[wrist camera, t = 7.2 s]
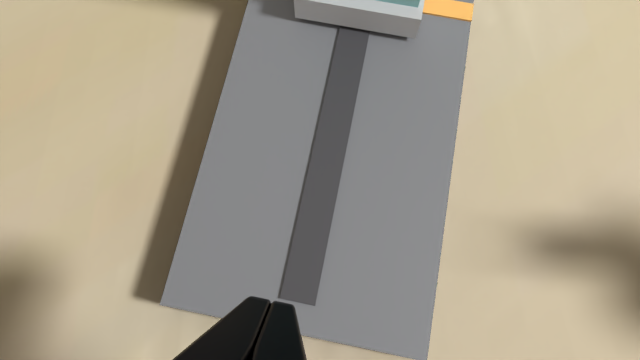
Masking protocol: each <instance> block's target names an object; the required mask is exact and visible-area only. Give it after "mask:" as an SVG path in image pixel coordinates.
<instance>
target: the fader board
mask: <svg viewBox="0 0 640 360" xmlns="http://www.w3.org/2000/svg"><path fill="white" fill-rule="evenodd" d="M473 1H474V0H425V1H424V7H423V13H422V19H421V23H420V26H419V29H418V32H417V35H416V38H409V37H403V36H397V35H392V34H386V33H380V32H375V31H369V30H363V29H358V28H352V27H346V26H340V25H335V24H329V23H323V22H318V21H312V20H306V19H301V18H295V9H294V0H248V4H247V7H246V11H245V14H244V17H243V21H242V24H241V28H240V31H239V35H238V38H237V41H236V45H235V48H234V52H233V55H232V59H231V62H230V65H229V69H228V72H227V76H226V79H225V83H224V86H223V89H222V93H221V96H220V100H219V103H218V107H217V110H216V114H215V117H214V120H213V124H212V127H211V131H210V134H209V138H208V141H207V144H206V148H205V151H204V155H203V158H202V162H201V165H200V168H199V172H198V175H197V179H196V182H195V186H194V189H193V192H192V196H191V199H190V203H189V206H188V210H187V213H186V216H185V220H184V223H183V227H182V230H181V234H180V237H179V240H178V244H177V247H176V251H175V254H174V258H173V261H172V264H171V268H170V271H169V275H168V278H167V282H166V285H165V288H164V292H163V295H162V299H161V302H160V305H163V306H167V307H172V308H177V309H181V310H186V311H191V312H195V313H200V314H205V315H210V316H214V317H219V318H223V317H224V316H226V315H227V314H228V313H229V312H230V311H232V310H233V309H234V308H235V307H236V306H238V305H239V304H240V303H241V302H242V301H244V300H245V299H246V298H247V297H249V296H255V297H260V298H265V299H269V300H270V301H271V303H272V302H273V301H279V302H284V303H289V304H292V305H294V307H295V309H296V314H297V318H298V323H299V328H300V332H301V335H303V336H308V337H313V338H318V339H322V340H327V341H332V342H336V343H341V344H346V345H350V346H355V347H360V348H365V349H369V350H374V351H379V352H383V353H388V354H393V355H397V356H402V357H407V358H411V359H416V360H427V356H428V349H429V341H430V333H431V326H432V318H433V310H434V302H435V295H436V287H437V279H438V272H439V264H440V256H441V248H442V241H443V233H444V225H445V217H446V210H447V202H448V194H449V187H450V179H451V171H452V163H453V156H454V148H455V140H456V133H457V125H458V117H459V109H460V102H461V94H462V86H463V79H464V71H465V63H466V55H467V48H468V40H469V32H470V24H471V21H472V13H473V5H474V4H473Z"/></svg>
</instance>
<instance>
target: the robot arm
mask: <svg viewBox="0 0 640 360" xmlns="http://www.w3.org/2000/svg"><path fill="white" fill-rule="evenodd" d="M173 360H307V359H306V355H305V350H304V346H303V341H302V337H301V332H300V328H299V323H298V318H297V314H296V309H295V307H294V305H292V304H289V303H284V302H279V301H273V302H272V303H271V301H270V300H269V299H265V298H260V297H255V296H249V297H247V298H246V299H245V300H244V301H242V302H241V303H240V304H239V305H238V306H236V307H235V308H234V309H233V310H232V311H230V312H229V313H228V314H227V315H226V316H224V317H223V318H222V319H221V320H220V321H218V322H217V323H216V324H215V325H214V326H212V327H211V328H210V329H209V330H208V331H206V332H205V333H204V334H203V335H202V336H200V337H199V338H198V339H197V340H195V341H194V342H193V343H192V344H191V345H189V346H188V347H187V348H186V349H185V350H183V351H182V352H181V353H180V354H179V355H177V356H176V357H175V358H174V359H173Z"/></svg>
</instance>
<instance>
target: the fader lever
mask: <svg viewBox="0 0 640 360" xmlns="http://www.w3.org/2000/svg"><path fill="white" fill-rule="evenodd" d="M424 1H425V0H294V9H295V18H301V19H306V20H312V21H318V22H323V23H329V24H335V25H340V26H346V27H352V28H358V29H363V30H369V31H375V32H380V33H386V34H392V35H397V36H403V37H409V38H416V35H417V32H418V29H419V26H420V23H421V19H422V13H423V7H424Z"/></svg>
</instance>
